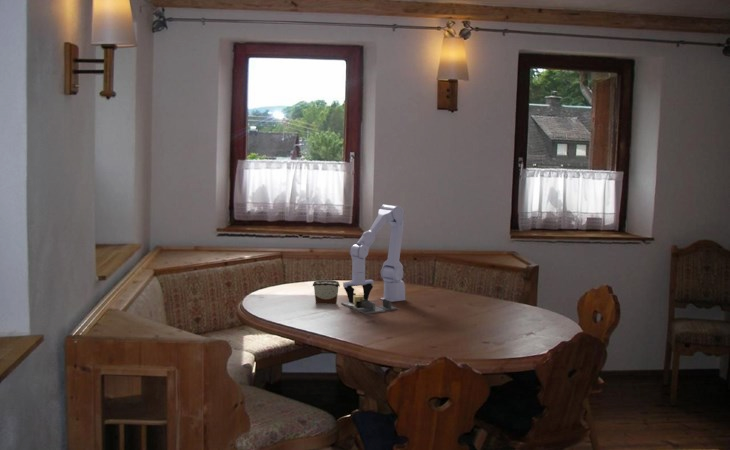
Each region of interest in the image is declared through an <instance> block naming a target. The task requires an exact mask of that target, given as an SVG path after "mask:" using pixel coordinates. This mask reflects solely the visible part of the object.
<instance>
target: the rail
mask: <svg viewBox="0 0 730 450" xmlns="http://www.w3.org/2000/svg"><path fill="white" fill-rule="evenodd" d="M353 295H357V294H356V293H355V292H354V293H353ZM340 305H342V306H345V307H347V308H349V309H352V310H353V311H357V312H358V313H362V314H364V315H370V314H378V313H385V312H386V311H385V310H384V309H382V308H379V307H377V306H378V305H377V306H376V302H373V301H372V300H371V301H370V300H365V299H361V301H357V302H356V305H354V303H350V302H349V301H344V302H341V303H340Z"/></svg>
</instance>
